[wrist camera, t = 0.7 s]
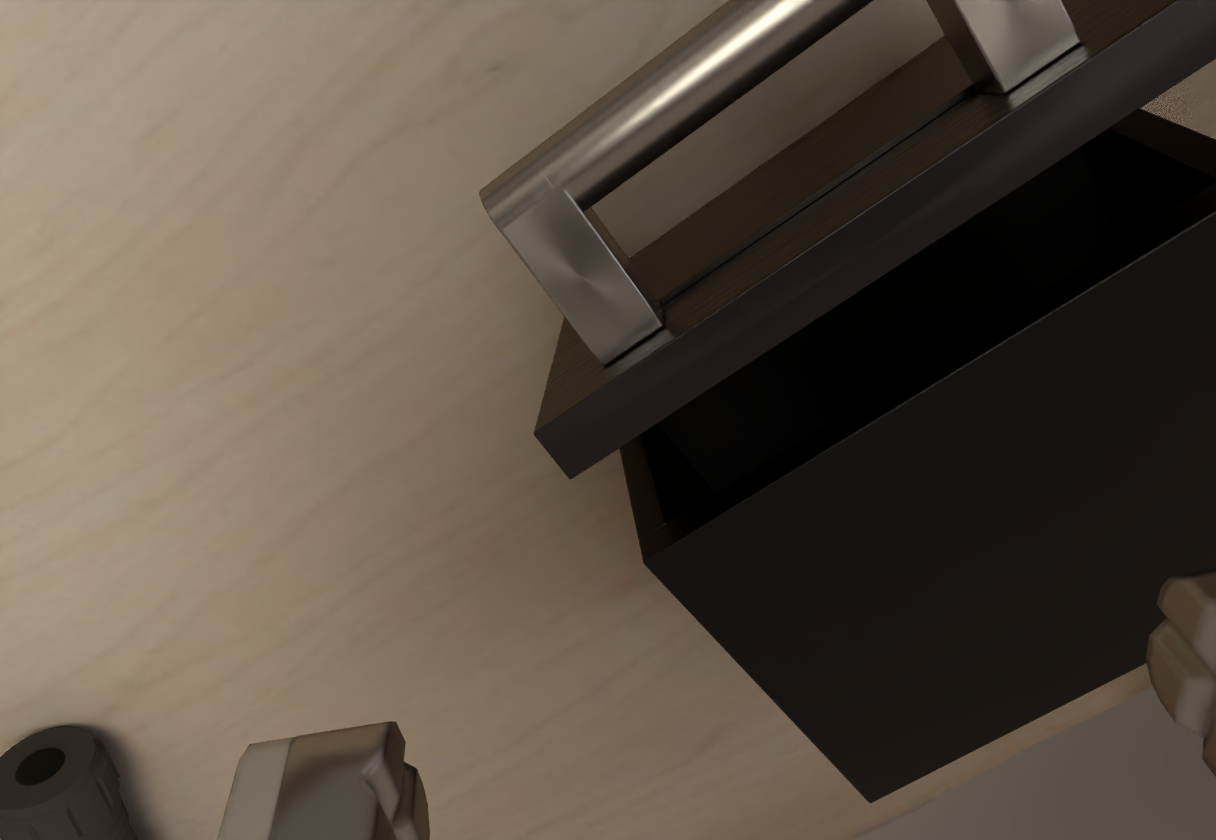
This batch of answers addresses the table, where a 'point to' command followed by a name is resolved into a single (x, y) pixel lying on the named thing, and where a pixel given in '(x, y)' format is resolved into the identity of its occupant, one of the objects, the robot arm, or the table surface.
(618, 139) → the oven door
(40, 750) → the flashlight
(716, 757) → the table surface
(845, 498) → the oven
